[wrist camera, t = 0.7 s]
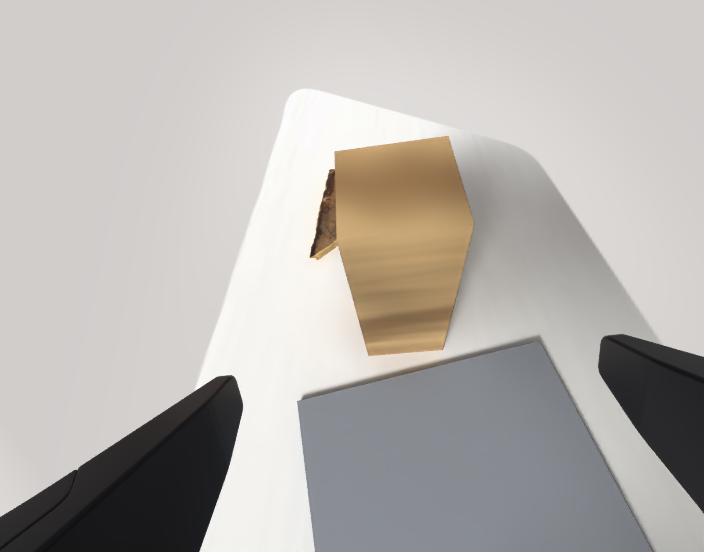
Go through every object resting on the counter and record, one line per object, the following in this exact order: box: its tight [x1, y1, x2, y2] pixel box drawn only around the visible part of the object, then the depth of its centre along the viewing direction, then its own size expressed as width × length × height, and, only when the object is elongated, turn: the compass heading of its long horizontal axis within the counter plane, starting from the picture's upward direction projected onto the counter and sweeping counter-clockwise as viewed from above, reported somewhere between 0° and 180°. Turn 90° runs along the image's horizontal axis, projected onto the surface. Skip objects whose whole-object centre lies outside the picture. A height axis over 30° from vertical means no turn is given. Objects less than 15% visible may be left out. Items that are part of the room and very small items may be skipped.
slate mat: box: [297, 341, 653, 552], centre depth 18 cm, size 16×16×1 cm
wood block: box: [335, 136, 474, 356], centre depth 20 cm, size 5×5×13 cm
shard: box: [310, 169, 338, 260], centre depth 31 cm, size 11×8×2 cm
